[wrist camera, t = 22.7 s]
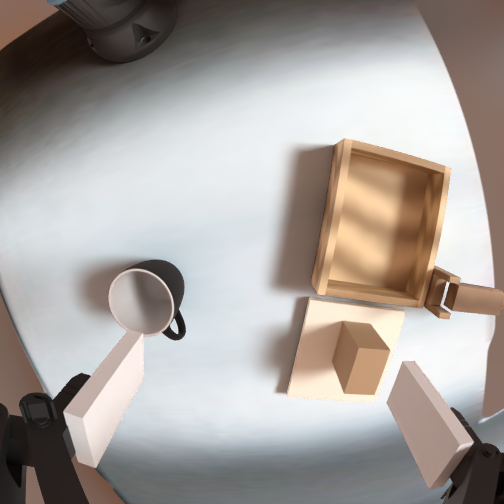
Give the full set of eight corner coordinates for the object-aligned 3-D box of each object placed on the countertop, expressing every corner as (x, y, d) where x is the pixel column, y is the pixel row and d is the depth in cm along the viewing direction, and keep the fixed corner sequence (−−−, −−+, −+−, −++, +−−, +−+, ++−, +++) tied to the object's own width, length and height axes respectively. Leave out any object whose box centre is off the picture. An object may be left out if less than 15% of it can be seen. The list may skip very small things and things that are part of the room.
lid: (308, 295, 48) (320, 324, 37) (400, 307, 48) (431, 335, 37) (286, 389, 51) (290, 432, 40) (371, 395, 51) (390, 434, 40)
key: (450, 280, 39) (459, 285, 36) (501, 289, 39) (510, 293, 36) (443, 304, 39) (452, 310, 37) (494, 310, 39) (503, 316, 37)
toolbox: (334, 144, 43) (354, 132, 33) (442, 173, 43) (479, 171, 33) (310, 281, 47) (323, 305, 37) (417, 296, 47) (448, 320, 37)
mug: (125, 271, 48) (95, 290, 38) (170, 241, 47) (147, 254, 37) (167, 334, 49) (148, 366, 39) (214, 309, 48) (202, 338, 38)
